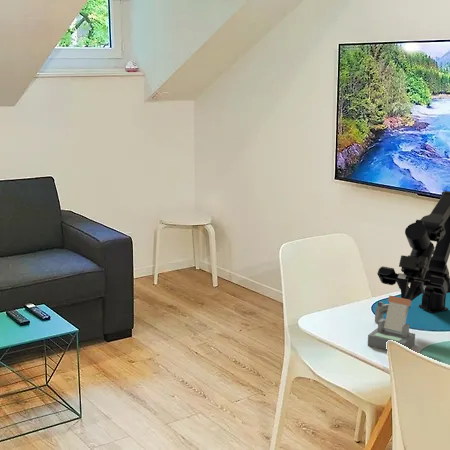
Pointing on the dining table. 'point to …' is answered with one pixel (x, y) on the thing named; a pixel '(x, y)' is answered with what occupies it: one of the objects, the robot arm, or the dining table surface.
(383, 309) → the caliper
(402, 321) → the toggle lever
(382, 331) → the breaker housing
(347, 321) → the dining table surface
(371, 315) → the dining table surface
